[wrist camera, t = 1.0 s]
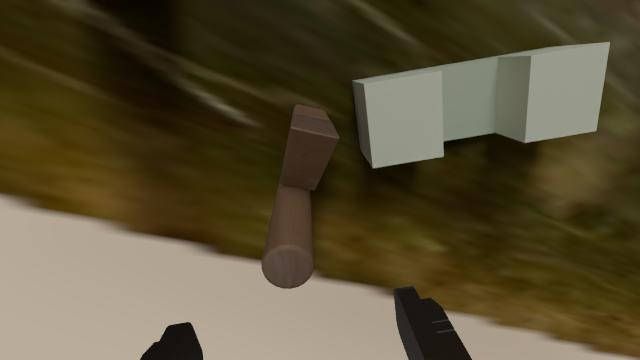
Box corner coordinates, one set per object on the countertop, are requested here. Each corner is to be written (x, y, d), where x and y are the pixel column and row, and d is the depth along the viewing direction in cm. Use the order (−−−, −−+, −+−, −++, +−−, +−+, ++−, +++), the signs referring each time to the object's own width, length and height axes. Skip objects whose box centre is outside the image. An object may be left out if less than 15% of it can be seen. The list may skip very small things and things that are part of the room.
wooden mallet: (326, 110, 35) (347, 150, 18) (306, 195, 38) (308, 296, 22) (294, 102, 35) (286, 137, 18) (277, 190, 38) (256, 288, 21)
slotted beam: (352, 80, 34) (364, 83, 27) (550, 46, 34) (609, 42, 27) (360, 150, 37) (372, 168, 30) (543, 119, 37) (596, 130, 30)
